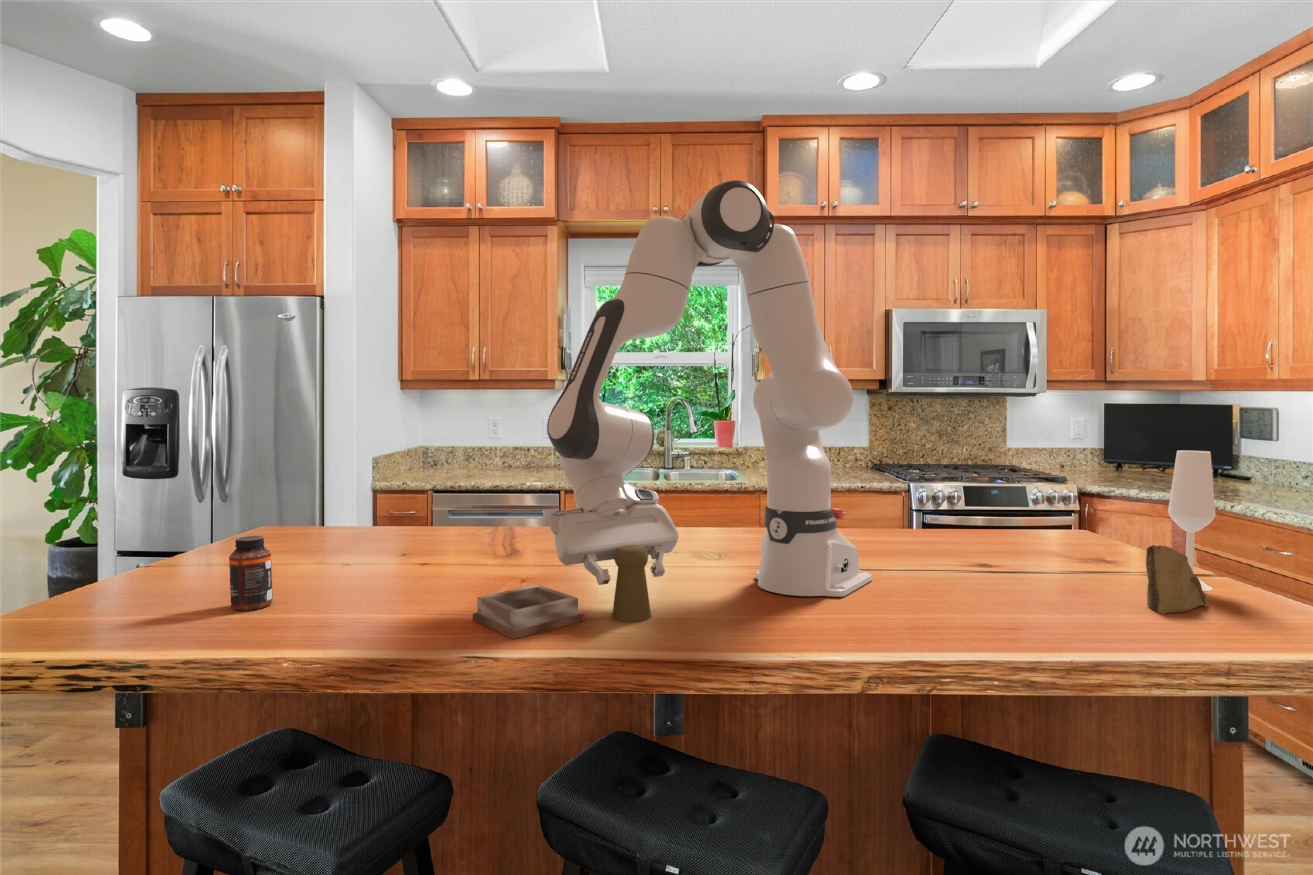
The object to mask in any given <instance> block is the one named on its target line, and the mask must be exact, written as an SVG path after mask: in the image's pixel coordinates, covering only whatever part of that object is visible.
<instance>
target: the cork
mask: <svg viewBox="0 0 1313 875" xmlns="http://www.w3.org/2000/svg"><path fill="white" fill-rule="evenodd" d="M613 560H614V563H615V565H616V566H617V572H616V573H617V576H616V582H615V590H614V599H613V605H612V615H611V617H612V619H614V621H618V622H621V623H622V622H623V623H639V622H644V621H647V620H649V619H650V618H651V617H652V613H651V612H652V611H651V605H650V596H649V589H648V583H647V575H646V565H647V564H648V561H649V555H648V552H647V550H646V548H644V547H643V546H640V545H624V546H620V547H619V548H617V550H616V552H615V555H614V559H613Z"/></svg>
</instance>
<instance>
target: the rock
mask: <svg viewBox="0 0 1313 875" xmlns="http://www.w3.org/2000/svg"><path fill="white" fill-rule="evenodd" d="M1145 565H1146V574H1147V581H1148V582H1147V592H1146V600H1147V601H1146V603H1147V605H1146V606H1148V607H1149V608H1150V609H1151V610H1153V612H1157V613H1159V614H1161V615H1166V614H1167V613H1168V614H1169V613H1171V614H1173V613H1184V612H1187V611H1191V610H1193V609H1196V608H1198V607H1202V606H1206V605H1208V604H1209V603H1208V601H1207V597H1206V594H1205V591H1203V590H1202V588H1201V584H1200V581H1201V580H1200V579H1199V578H1198V576H1196V574H1194V570H1193V571H1192V569H1191V567H1190V566H1189V564H1188V558H1187V556H1186V554H1183V553H1181V552H1179V551H1177V550H1175V549H1174V548H1172V547H1170V546H1167V545H1154V544H1152V545H1149V546H1148V547H1147V548H1146V555H1145ZM1199 580H1200V581H1199Z"/></svg>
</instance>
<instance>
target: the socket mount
mask: <svg viewBox="0 0 1313 875" xmlns="http://www.w3.org/2000/svg"><path fill="white" fill-rule="evenodd" d="M476 599H477V600H476V602H477V604H476V606H477V612H472V621H474V622H476V623H478V624H480V625H482V626H485V627H487V628H489V629H492V630H493V631H495V632H498V633H500V635H501V634H502V635H503V636H506V637H508V638H510V639H512V640H517V639H521V638H524V637H527V636H531V635H532V636H533V635H535V634H539V633H544V632H547V631H551V630H555V629H558V628H563V627H566V626H571V625H573V624H578V623H582V622H584V614H582V613H580V612H579V597H575V596H573V595H569V594H567V593H564V592H561V591H559V590H555V589H552V588H549V587H546V586H544V585H541V584H534V585H530V586H525V587H520V588H516V589H511V590H510V589H509V590H505V591H500V592H496V593H491V594H487V595H482V596H477V598H476Z"/></svg>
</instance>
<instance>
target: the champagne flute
mask: <svg viewBox="0 0 1313 875" xmlns="http://www.w3.org/2000/svg"><path fill="white" fill-rule="evenodd" d="M1213 480H1214V479H1213V464H1212V453H1211V451H1208V450H1205V451H1204V450H1177V451H1176V455H1175V462H1174V468H1173V475H1172V483H1171V488H1170V489H1171V490H1170V494H1169V502H1168V508H1167V514H1168V516H1169V517H1170V519H1171V520H1172V521H1173V522H1174V523H1175V524H1176V525H1177V526H1178V527H1179V528H1180V529H1181V530H1183V531H1185V532H1186V535H1185V539H1186V541H1185V542H1186V543H1185V556H1187V558H1188V564H1189V566H1190V567H1191V569H1192V571H1193V572H1194V569H1195V568H1194V566H1195V565H1194V564H1195V563H1194V561H1195V535H1196V533H1197V532H1199V531H1201V530H1203V529H1204V528H1206V527H1208V525H1210V524H1211V523H1212V522H1213V521H1214V519H1215V518H1216V515H1217V514H1216V504H1215V503H1216V502H1215V494H1214V493H1215V492H1214V491H1215V490H1214V481H1213ZM1199 581H1200V584H1201V588H1202V590H1203V592H1209V591H1212V590H1213V588H1212V587H1211V586H1209V585H1208V584H1206V583H1204V582H1203V581H1202V580H1201V579H1199Z"/></svg>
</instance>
